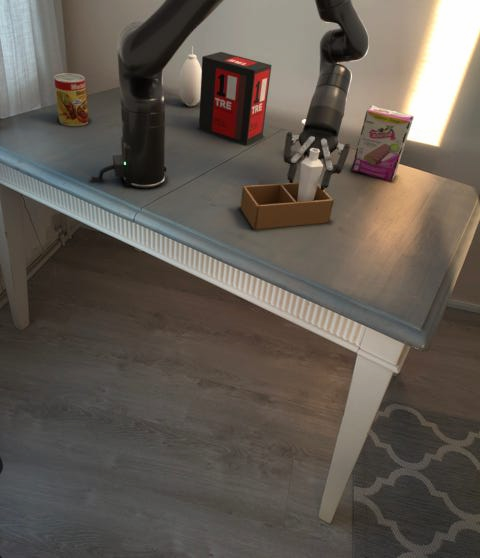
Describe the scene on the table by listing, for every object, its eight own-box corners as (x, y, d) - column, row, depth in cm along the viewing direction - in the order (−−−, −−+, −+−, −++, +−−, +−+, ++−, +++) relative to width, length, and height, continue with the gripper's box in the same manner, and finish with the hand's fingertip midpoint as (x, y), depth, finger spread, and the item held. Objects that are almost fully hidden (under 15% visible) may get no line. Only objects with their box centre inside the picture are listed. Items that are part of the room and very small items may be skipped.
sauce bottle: (175, 107, 160) (176, 46, 149) (181, 100, 166) (183, 41, 156) (199, 110, 160) (202, 50, 149) (204, 103, 166) (207, 44, 155)
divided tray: (254, 229, 105) (257, 206, 101) (240, 208, 111) (242, 186, 108) (328, 222, 110) (333, 200, 107) (311, 202, 117) (315, 181, 113)
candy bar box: (350, 171, 133) (365, 109, 123) (355, 164, 137) (370, 104, 127) (392, 182, 130) (411, 120, 120) (395, 175, 134) (414, 114, 124)
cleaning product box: (198, 129, 147) (202, 56, 135) (216, 121, 153) (220, 51, 141) (246, 145, 141) (254, 70, 129) (262, 136, 147) (271, 64, 135)
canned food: (84, 127, 140) (80, 83, 132) (55, 124, 139) (50, 80, 132) (91, 117, 146) (87, 74, 139) (64, 115, 146) (59, 71, 138)
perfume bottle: (290, 208, 114) (301, 145, 105) (309, 209, 114) (322, 146, 105) (293, 218, 110) (305, 154, 101) (313, 219, 110) (326, 155, 102)
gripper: (292, 98, 106) (272, 171, 104) (360, 110, 103) (341, 186, 101) (293, 115, 113) (274, 184, 111) (357, 127, 111) (339, 198, 109)
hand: (306, 185), depth 106 cm, fingers open, 6 cm apart
